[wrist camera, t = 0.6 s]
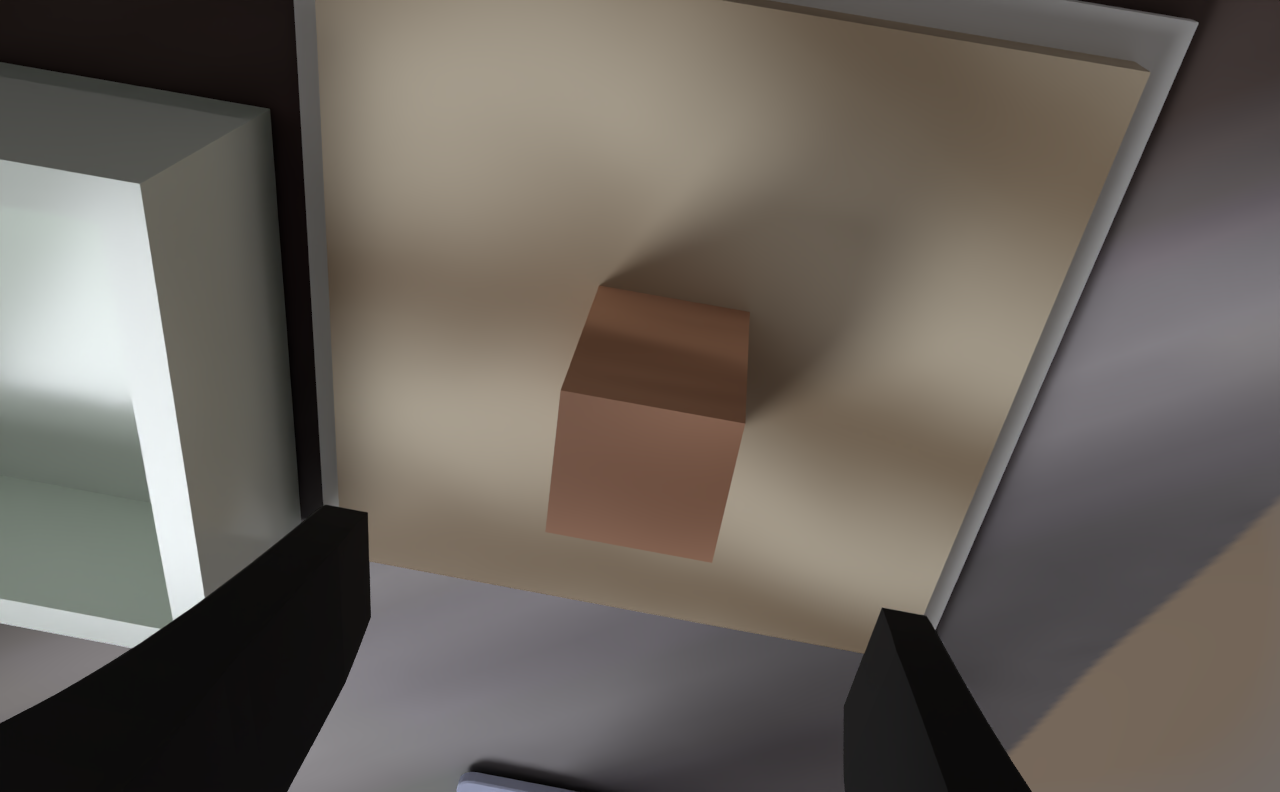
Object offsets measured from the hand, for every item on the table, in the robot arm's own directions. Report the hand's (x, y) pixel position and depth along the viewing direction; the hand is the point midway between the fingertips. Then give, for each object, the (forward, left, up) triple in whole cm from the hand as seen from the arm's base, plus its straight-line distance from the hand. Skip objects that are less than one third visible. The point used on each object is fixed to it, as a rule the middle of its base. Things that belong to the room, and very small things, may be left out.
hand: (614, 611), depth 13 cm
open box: (-2, +14, -8) cm, 16 cm away
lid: (0, 0, -8) cm, 8 cm away
